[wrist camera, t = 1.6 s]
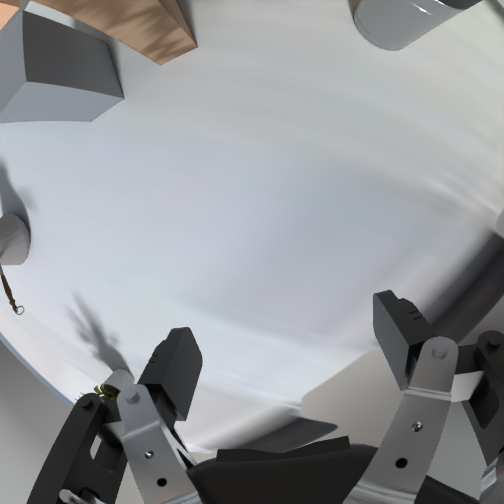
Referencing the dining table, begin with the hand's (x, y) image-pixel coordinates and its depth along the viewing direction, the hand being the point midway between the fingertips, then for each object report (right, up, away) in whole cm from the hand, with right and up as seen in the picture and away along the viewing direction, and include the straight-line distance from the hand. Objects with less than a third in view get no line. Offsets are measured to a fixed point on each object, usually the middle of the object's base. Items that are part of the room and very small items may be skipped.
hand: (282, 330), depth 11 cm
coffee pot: (-47, +4, +32) cm, 57 cm away
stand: (-14, +37, +16) cm, 43 cm away
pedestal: (-26, +30, +20) cm, 44 cm away
